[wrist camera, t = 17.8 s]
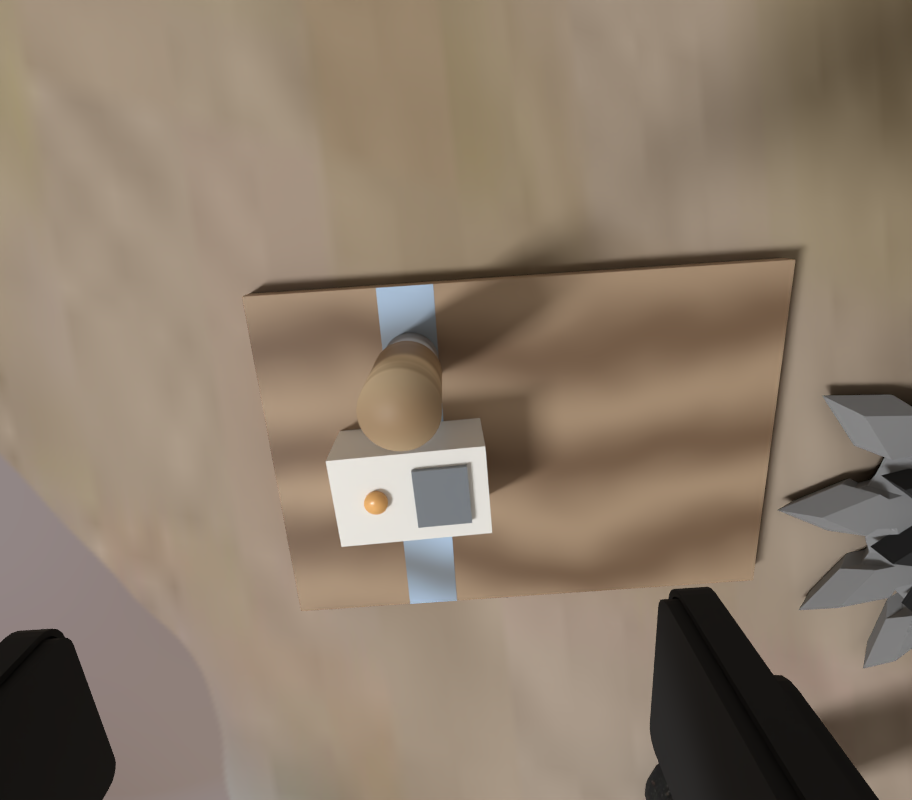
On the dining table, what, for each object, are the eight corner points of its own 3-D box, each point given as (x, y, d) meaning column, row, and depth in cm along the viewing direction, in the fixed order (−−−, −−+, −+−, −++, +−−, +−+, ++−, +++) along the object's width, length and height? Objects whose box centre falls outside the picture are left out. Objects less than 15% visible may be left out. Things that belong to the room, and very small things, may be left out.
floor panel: (249, 293, 30) (241, 296, 29) (782, 257, 30) (795, 259, 29) (305, 598, 36) (300, 611, 35) (743, 568, 36) (753, 580, 35)
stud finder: (339, 431, 31) (324, 463, 27) (479, 417, 31) (485, 448, 27) (353, 508, 33) (340, 550, 29) (486, 495, 33) (492, 536, 29)
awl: (376, 330, 29) (351, 373, 21) (440, 326, 29) (438, 368, 21) (383, 391, 30) (361, 453, 22) (444, 387, 30) (444, 448, 22)
